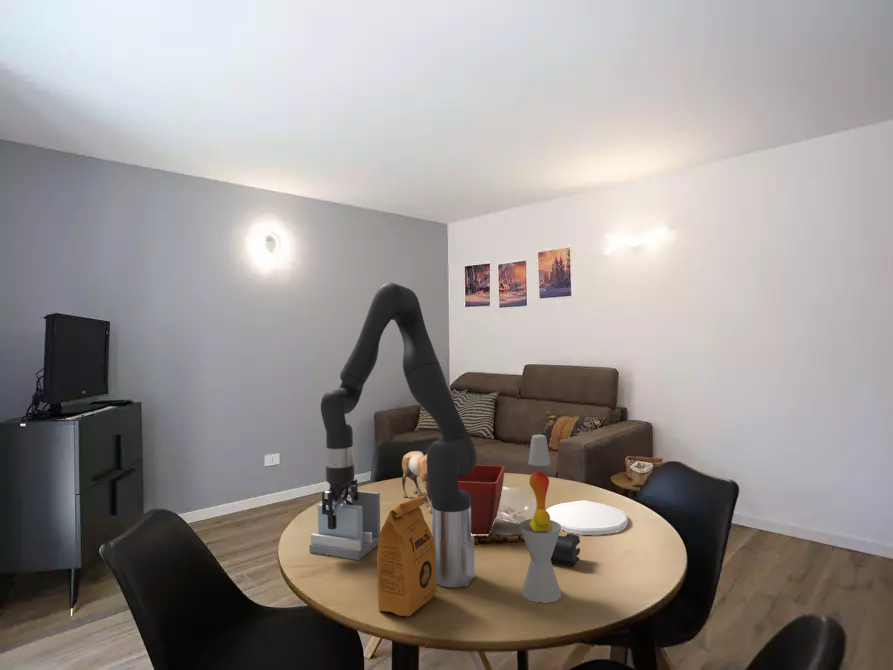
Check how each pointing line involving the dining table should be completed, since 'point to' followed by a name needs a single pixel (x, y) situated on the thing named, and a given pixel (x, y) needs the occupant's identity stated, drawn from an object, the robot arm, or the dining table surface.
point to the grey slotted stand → (353, 546)
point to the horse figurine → (416, 472)
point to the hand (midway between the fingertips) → (341, 523)
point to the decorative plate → (588, 517)
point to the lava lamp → (540, 532)
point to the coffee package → (406, 560)
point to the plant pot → (483, 495)
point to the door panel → (343, 522)
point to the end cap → (566, 549)
